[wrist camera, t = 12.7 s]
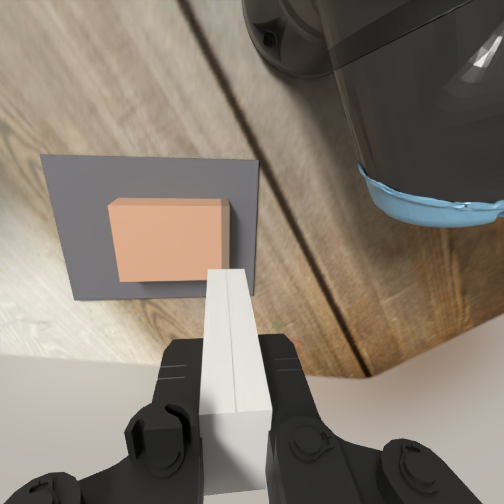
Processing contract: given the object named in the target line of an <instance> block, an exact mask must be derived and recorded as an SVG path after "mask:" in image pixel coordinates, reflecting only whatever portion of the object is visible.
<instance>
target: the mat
mask: <svg viewBox="0 0 504 504" xmlns="http://www.w3.org/2000/svg"><path fill="white" fill-rule="evenodd" d="M40 158H41V162H42V166H43V170H44V175H45V179H46V183H47V187H48V191H49V196H50V200H51V204H52V208H53V212H54V217H55V221H56V225H57V229H58V234H59V238H60V242H61V246H62V250H63V255H64V259H65V263H66V267H67V271H68V276H69V280H70V284H71V288H72V292H73V297H74V300H105V299H139V298H173V297H206V291H207V280H187V281H143V282H120V279H119V273H118V267H117V261H116V254H115V248H114V242H113V236H112V230H111V224H110V217H109V211H108V205H109V204H110V203H112V202H113V201H115V200H116V199H117V198H184V199H228V200H229V206H230V218H229V269H245V274H246V279H247V285H248V290H249V295H253V283H254V260H255V236H256V212H257V189H258V165H259V160H236V159H197V158H159V157H120V156H82V155H40Z"/></svg>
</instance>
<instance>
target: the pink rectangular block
mask: <svg viewBox="0 0 504 504" xmlns="http://www.w3.org/2000/svg"><path fill="white" fill-rule="evenodd" d="M108 211H109V217H110V224H111V230H112V236H113V242H114V248H115V254H116V261H117V267H118V273H119V279H120V282H143V281H187V280H207V275H208V269H229V218H230V206H229V200H228V199H184V198H117V199H116V200H115V201H113V202H112V203H110V204H109V205H108Z"/></svg>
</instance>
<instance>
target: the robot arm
mask: <svg viewBox="0 0 504 504" xmlns="http://www.w3.org/2000/svg"><path fill="white" fill-rule="evenodd" d="M242 9H243V15H244V20H245V24H246V27H247V30H248V32H249V35H250V37H251V39H252V41H253V43H254V45H255V47H256V48H257V50H258V51H259V53H260V54H261V55H262V56H263V57H264V59H265V60H266V61H267V62H268V63H269V64H271V65H272V66H273V67H274V68H276V69H277V70H279V71H281V72H283V73H285V74H287V75H290V76H293V77H298V78H316V77H320V76H324V75H327V74H329V73H331V72H333V71H334V75H335V78H336V82H337V85H338V89H339V93H340V96H341V100H342V103H343V107H344V111H345V114H346V118H347V121H348V125H349V129H350V132H351V136H352V139H353V143H354V147H355V150H356V154H357V158H358V163H357V165H358V168H359V171H360V173H361V175H362V176H363V177H364V178H365V181H366V184H367V187H368V190H369V193H370V196H371V198H372V200H373V202H374V203H375V205H376V206H377V207H378V208H379V209H381V210H383V211H384V212H385V213H386V214H387V215H388V216H390V217H392V218H394V219H397V220H399V221H402V222H405V223H409V224H414V225H419V226H426V227H439V228H455V227H469V226H476V225H483V224H488V223H492V222H494V221H495V219H496V217H504V0H242ZM357 58H358V59H357ZM355 59H356V60H355ZM353 60H354V61H353ZM351 61H352V62H351ZM349 62H350V63H349ZM347 63H348V64H347ZM124 434H125V438H126V444H127V449H128V454H129V455H128V456H127V457H126V458H124V459H123V460H122V461H120V462H119V463H118V464H116V465H114V466H112V467H110V468H108V469H106V470H103V471H101V472H99V473H96V474H94V475H91V476H89V477H87V478H84V479H82V480H79V481H77V480H76V478H75V477H73V476H71V475H69V474H67V473H65V472H57V473H48V474H45V475H43V476H40V477H38V478H35V479H33V480H31V481H30V482H28V483H27V484H25V485H24V486H23V487H21V488H20V489H18V490H17V491H16V492H14V493H13V494H12V496H11V497H10V498H9V499H8V500H7V501H6V502H5V503H4V504H203V496H205V495H214V494H222V493H232V492H241V491H250V490H260V489H265V487H266V482H267V488H268V496H269V504H482V503H481V502H480V501H479V500H478V499H477V497H476V496H475V495H474V494H473V493H472V492H471V491H470V490H469V489H468V487H467V486H466V485H465V484H464V483H463V482H462V481H461V480H460V479H459V478H458V476H457V475H456V474H455V473H454V472H453V471H452V470H451V469H450V468H449V467H448V466H447V464H446V463H445V462H444V461H443V460H442V459H441V458H440V457H438V456H437V455H436V454H435V453H434V452H432V451H431V450H430V449H429V448H427V447H425V446H423V445H422V444H420V443H418V442H416V441H411V440H408V439H395V440H391V441H390V442H389V443H388V444H386V445H385V446H384V448H383V451H380V450H376V449H372V448H368V447H364V446H360V445H356V444H352V443H350V442H347V441H344V440H343V439H341V438H339V437H338V436H336V435H335V434H334V433H333V432H332V431H331V430H330V429H329V428H328V427H327V426H326V425H325V424H324V423H323V422H322V420H321V418H320V416H319V414H318V412H317V408H316V406H315V403H314V400H313V397H312V394H311V392H310V389H309V386H308V383H307V380H306V378H305V375H304V372H303V370H302V366H301V364H300V361H299V359H298V355H297V352H296V350H295V347H294V344H293V343H292V342H291V341H290V340H289V339H288V338H287V337H286V336H285V335H284V334H262V335H257V330H256V325H255V320H254V315H253V310H252V305H251V300H250V295H249V290H248V285H247V279H246V274H245V269H208V275H207V291H206V307H205V324H204V338H197V339H175V340H173V341H172V342H171V343H170V344H169V346H168V347H167V348H166V349H165V351H164V353H163V357H162V361H161V367H160V370H159V374H158V380H157V383H156V387H155V391H154V395H153V400H152V403H150V404H149V405H147V406H145V407H143V408H142V409H140V410H139V411H138V412H137V413H136V415H134V416H133V418H132V419H131V420H130V422H129V424H128V426H127V428H126V430H125V432H124Z"/></svg>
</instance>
